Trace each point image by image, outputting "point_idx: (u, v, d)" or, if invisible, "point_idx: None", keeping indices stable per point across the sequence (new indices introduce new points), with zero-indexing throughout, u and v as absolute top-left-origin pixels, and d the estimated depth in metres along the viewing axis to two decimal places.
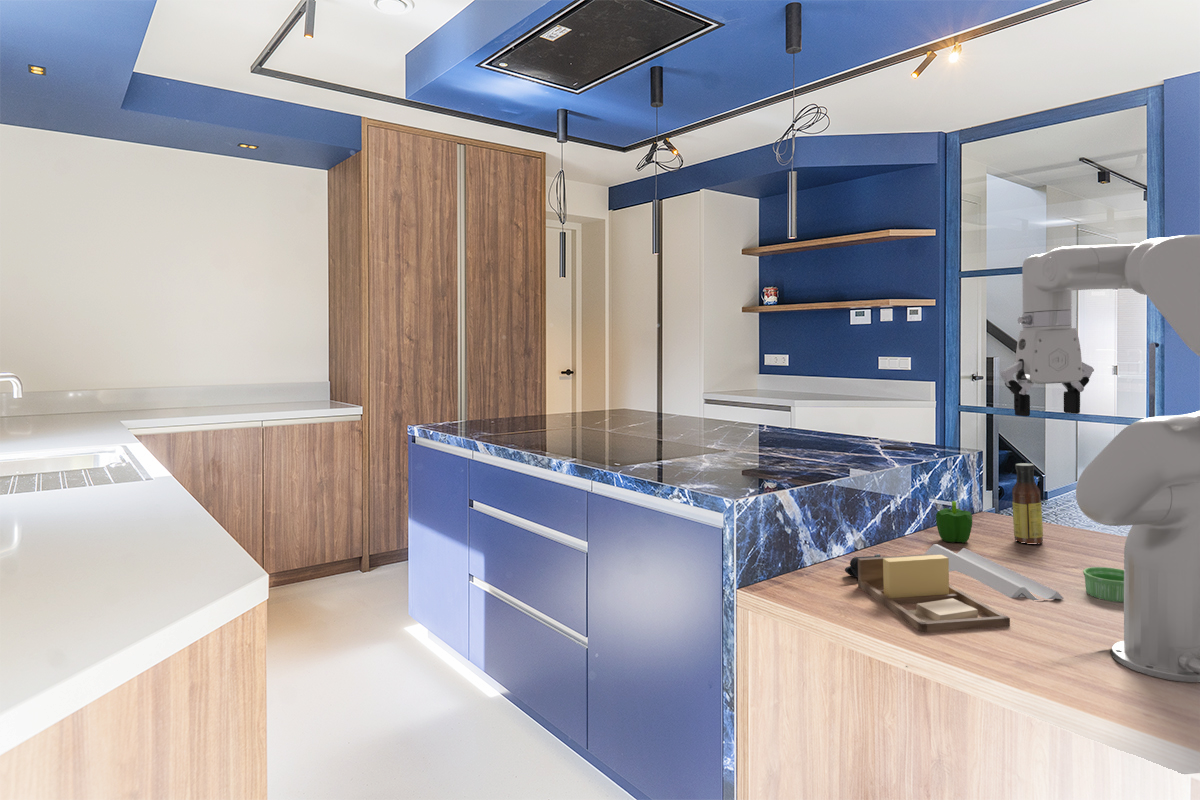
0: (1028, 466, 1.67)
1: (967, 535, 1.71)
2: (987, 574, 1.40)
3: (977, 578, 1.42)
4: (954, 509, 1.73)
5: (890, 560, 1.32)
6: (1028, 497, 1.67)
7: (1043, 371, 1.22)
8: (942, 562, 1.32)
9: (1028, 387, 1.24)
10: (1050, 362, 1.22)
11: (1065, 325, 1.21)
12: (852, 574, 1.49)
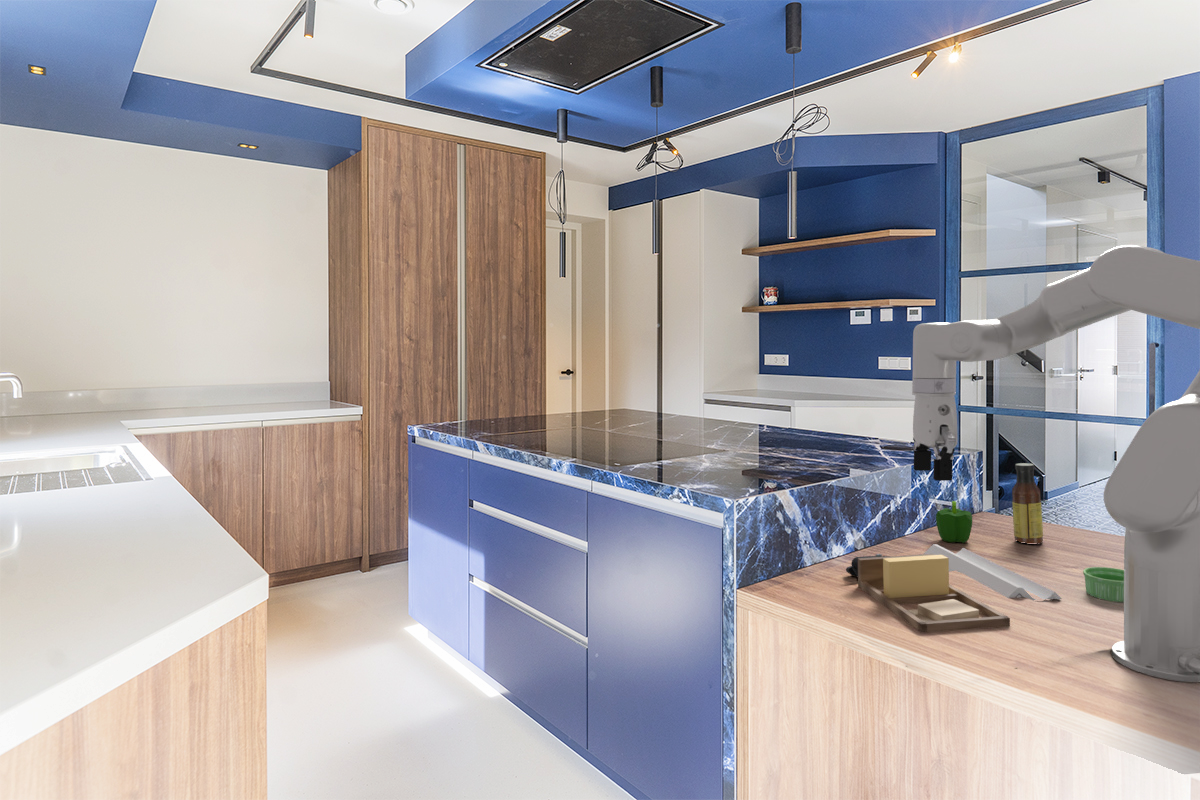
0: (1028, 466, 1.67)
1: (967, 535, 1.71)
2: (985, 574, 1.40)
3: (975, 579, 1.42)
4: (954, 509, 1.73)
5: (890, 560, 1.32)
6: (1028, 497, 1.67)
7: None
8: (942, 562, 1.32)
9: None
10: None
11: None
12: (853, 574, 1.49)
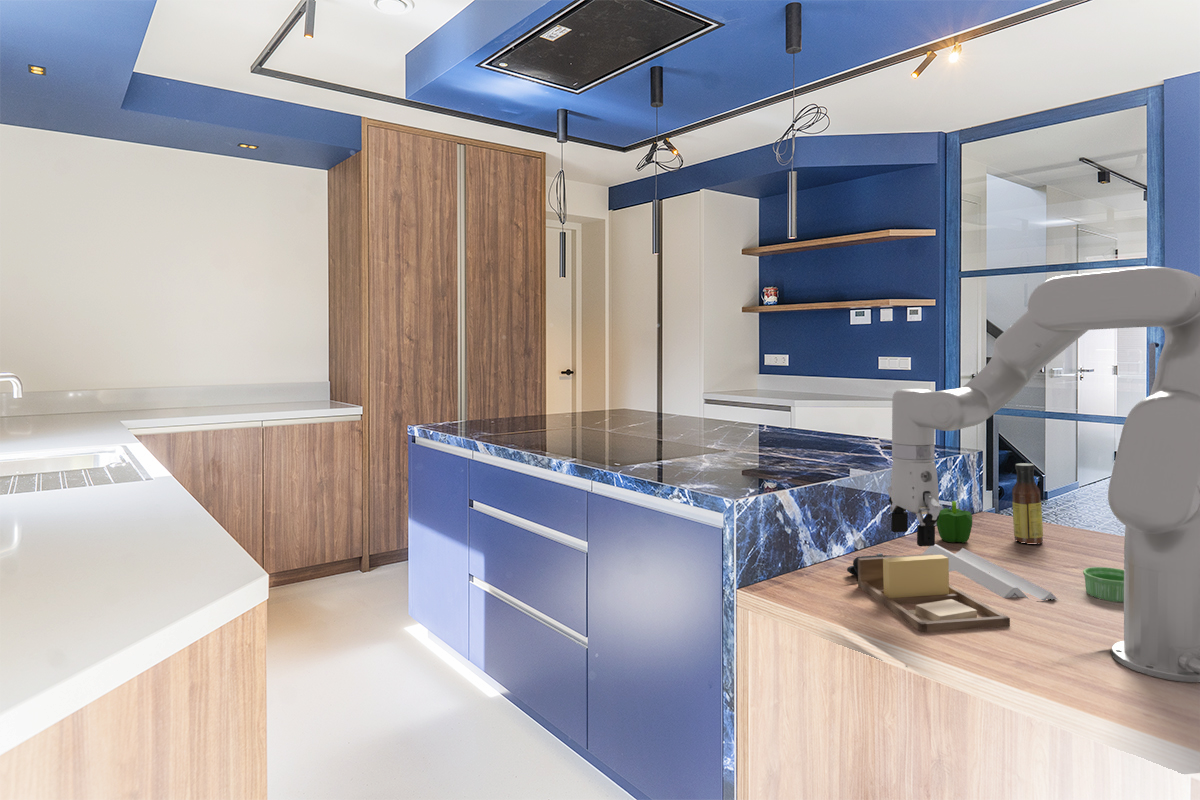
0: (1028, 466, 1.67)
1: (967, 535, 1.71)
2: (982, 574, 1.40)
3: (972, 578, 1.42)
4: (954, 509, 1.73)
5: (890, 560, 1.32)
6: (1028, 497, 1.67)
7: None
8: (942, 562, 1.32)
9: None
10: None
11: None
12: (855, 574, 1.49)
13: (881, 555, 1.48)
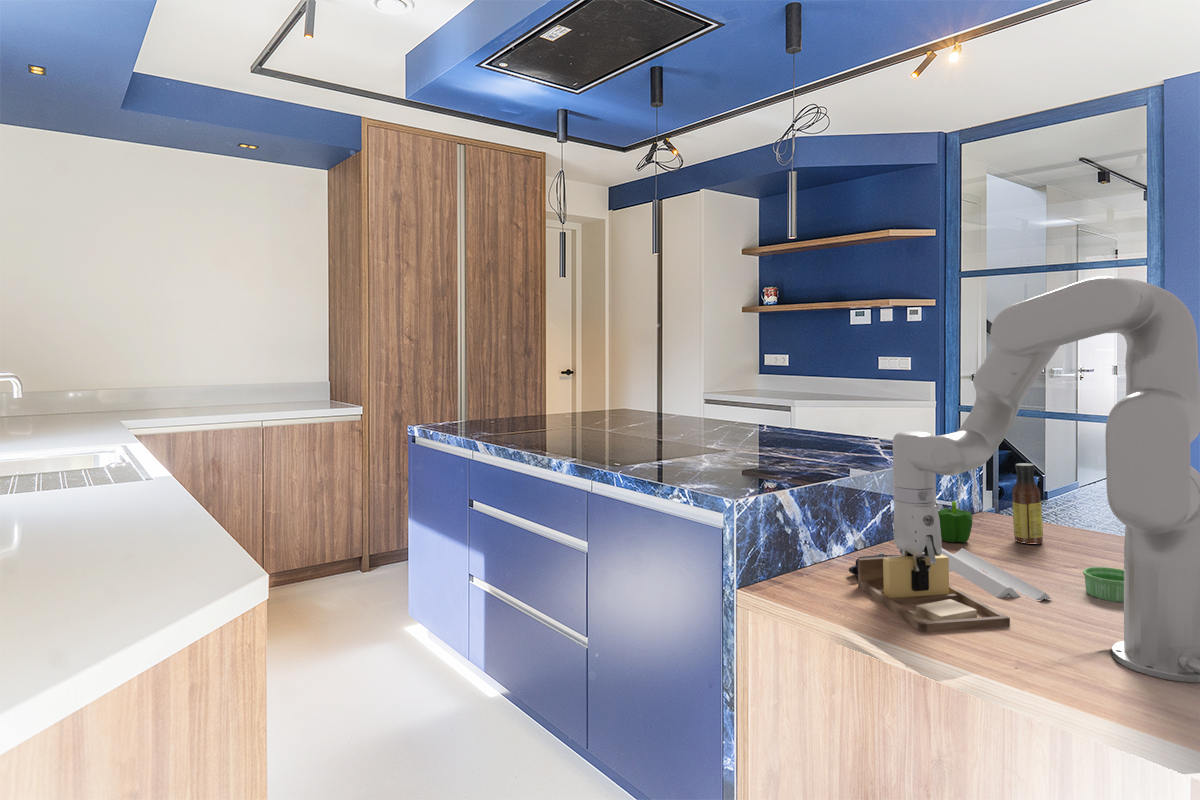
0: (1028, 466, 1.67)
1: (967, 535, 1.71)
2: (977, 574, 1.41)
3: (968, 578, 1.42)
4: (954, 509, 1.73)
5: (890, 559, 1.32)
6: (1028, 497, 1.67)
7: None
8: (942, 562, 1.32)
9: None
10: None
11: None
12: (857, 574, 1.49)
13: (883, 555, 1.48)
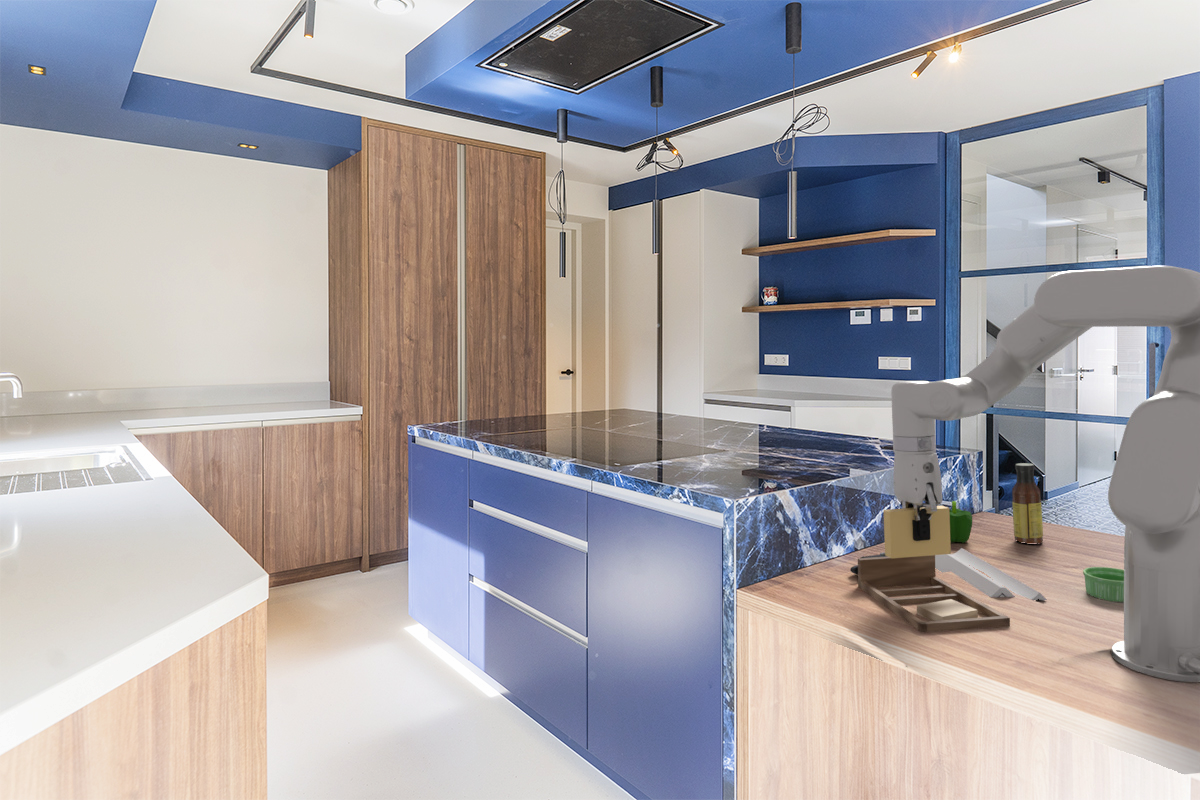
0: (1028, 466, 1.67)
1: (967, 535, 1.71)
2: (973, 574, 1.41)
3: (963, 578, 1.42)
4: (954, 509, 1.73)
5: (891, 511, 1.31)
6: (1028, 497, 1.67)
7: None
8: (943, 512, 1.31)
9: None
10: None
11: None
12: None
13: (884, 554, 1.49)
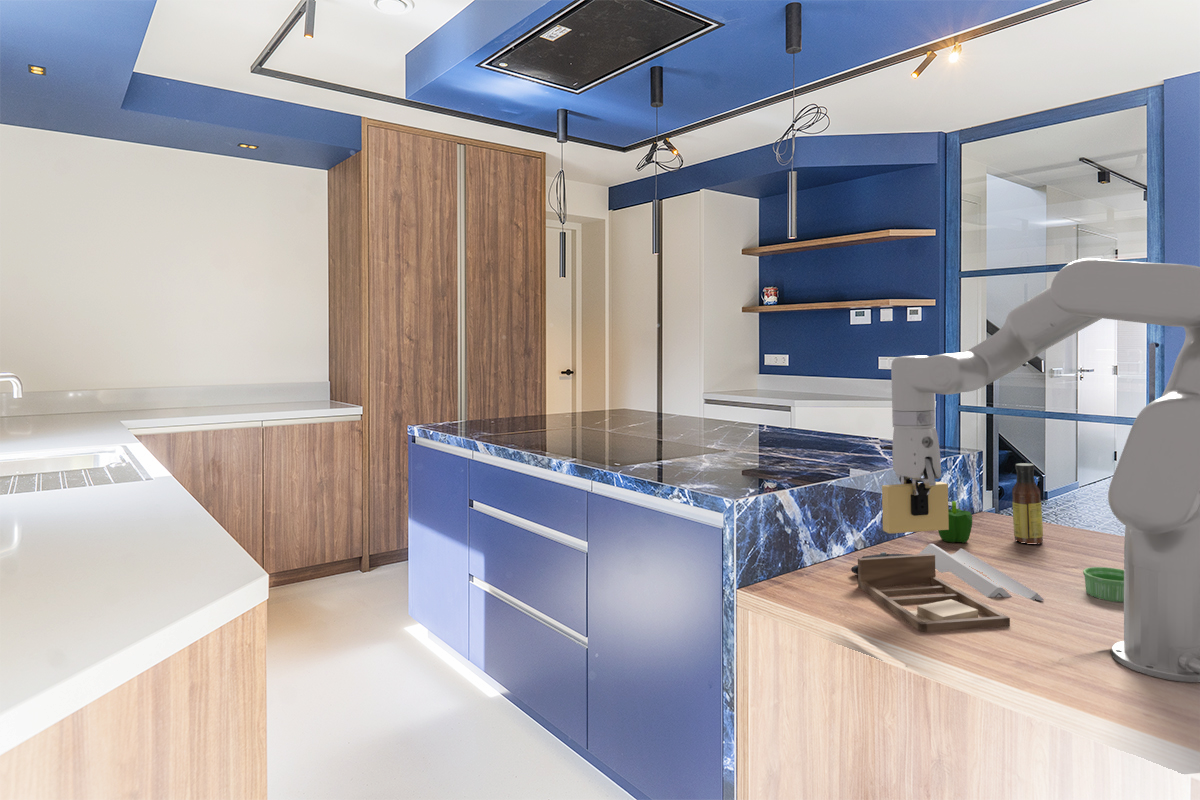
0: (1028, 466, 1.67)
1: (967, 535, 1.71)
2: (971, 573, 1.41)
3: (961, 578, 1.42)
4: (954, 509, 1.73)
5: (889, 486, 1.31)
6: (1028, 497, 1.67)
7: None
8: (942, 488, 1.31)
9: None
10: None
11: None
12: None
13: (885, 554, 1.49)
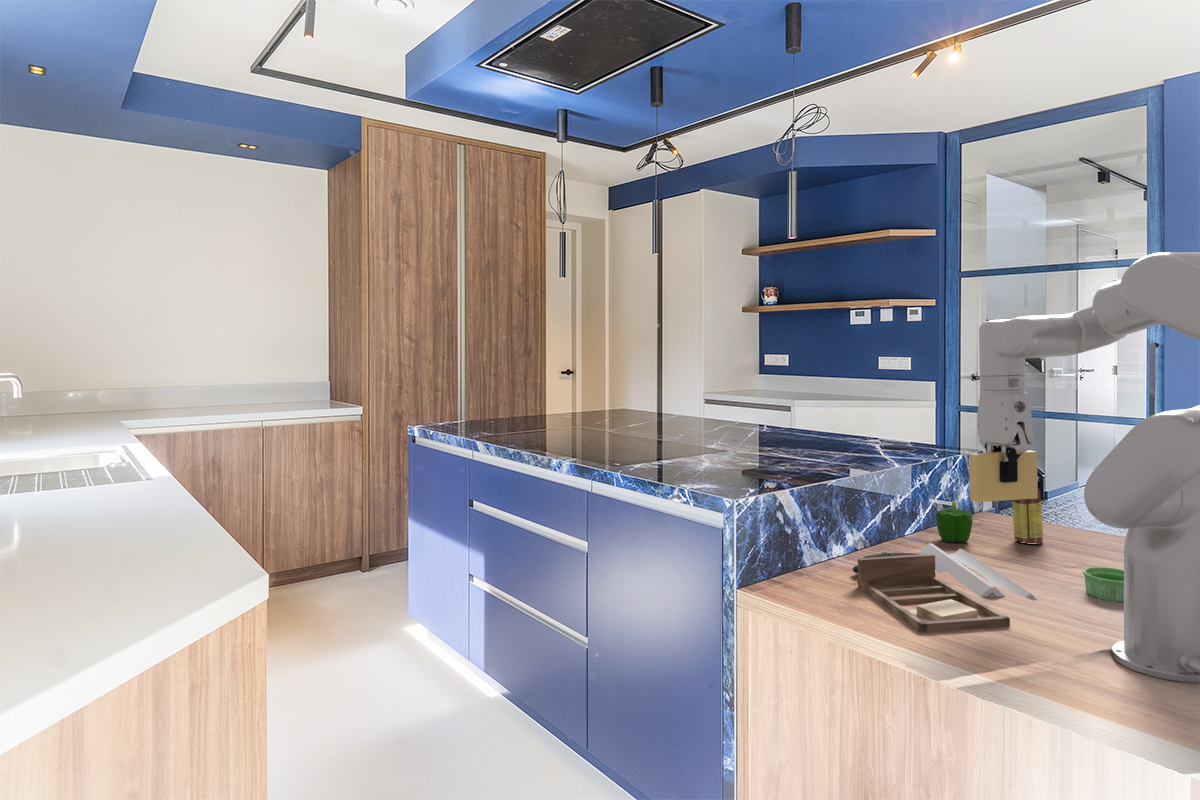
0: None
1: (967, 535, 1.71)
2: (966, 573, 1.41)
3: (956, 578, 1.43)
4: (954, 509, 1.73)
5: (977, 454, 1.29)
6: None
7: None
8: (1031, 456, 1.29)
9: None
10: None
11: None
12: None
13: (886, 553, 1.49)
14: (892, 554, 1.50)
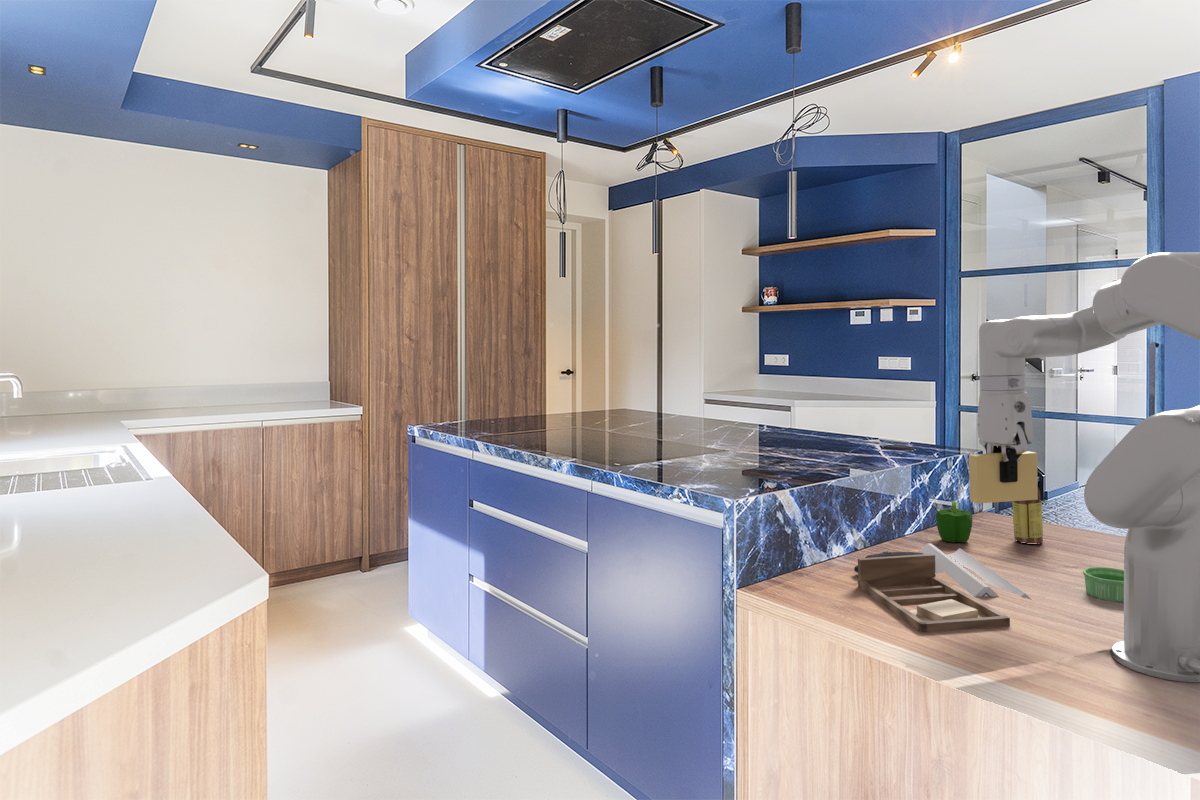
0: None
1: (967, 535, 1.71)
2: (962, 573, 1.42)
3: (952, 577, 1.43)
4: (954, 509, 1.73)
5: (977, 455, 1.29)
6: None
7: None
8: (1031, 457, 1.29)
9: None
10: None
11: None
12: None
13: (887, 552, 1.50)
14: (893, 553, 1.50)
